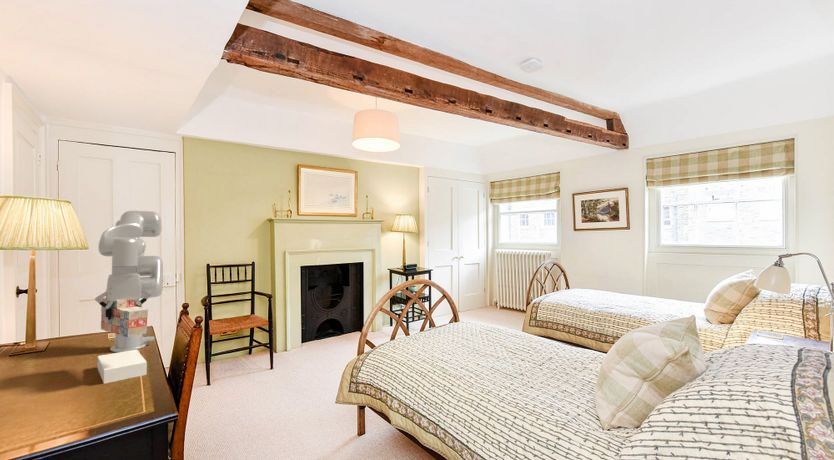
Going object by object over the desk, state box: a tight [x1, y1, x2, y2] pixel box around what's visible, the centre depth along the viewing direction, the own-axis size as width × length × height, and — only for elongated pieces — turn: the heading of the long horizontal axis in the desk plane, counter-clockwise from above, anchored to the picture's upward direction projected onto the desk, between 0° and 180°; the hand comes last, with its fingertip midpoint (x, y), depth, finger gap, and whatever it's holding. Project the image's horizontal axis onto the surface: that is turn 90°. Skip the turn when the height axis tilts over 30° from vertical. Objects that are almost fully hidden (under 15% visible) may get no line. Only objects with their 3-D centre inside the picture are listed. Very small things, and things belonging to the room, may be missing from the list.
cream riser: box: [96, 349, 148, 385], centre depth 137 cm, size 12×20×5 cm, turn 46°
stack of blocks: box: [100, 296, 149, 337], centre depth 137 cm, size 21×6×12 cm, turn 61°
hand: (123, 317), depth 137 cm, fingers closed on stack of blocks, 7 cm apart
